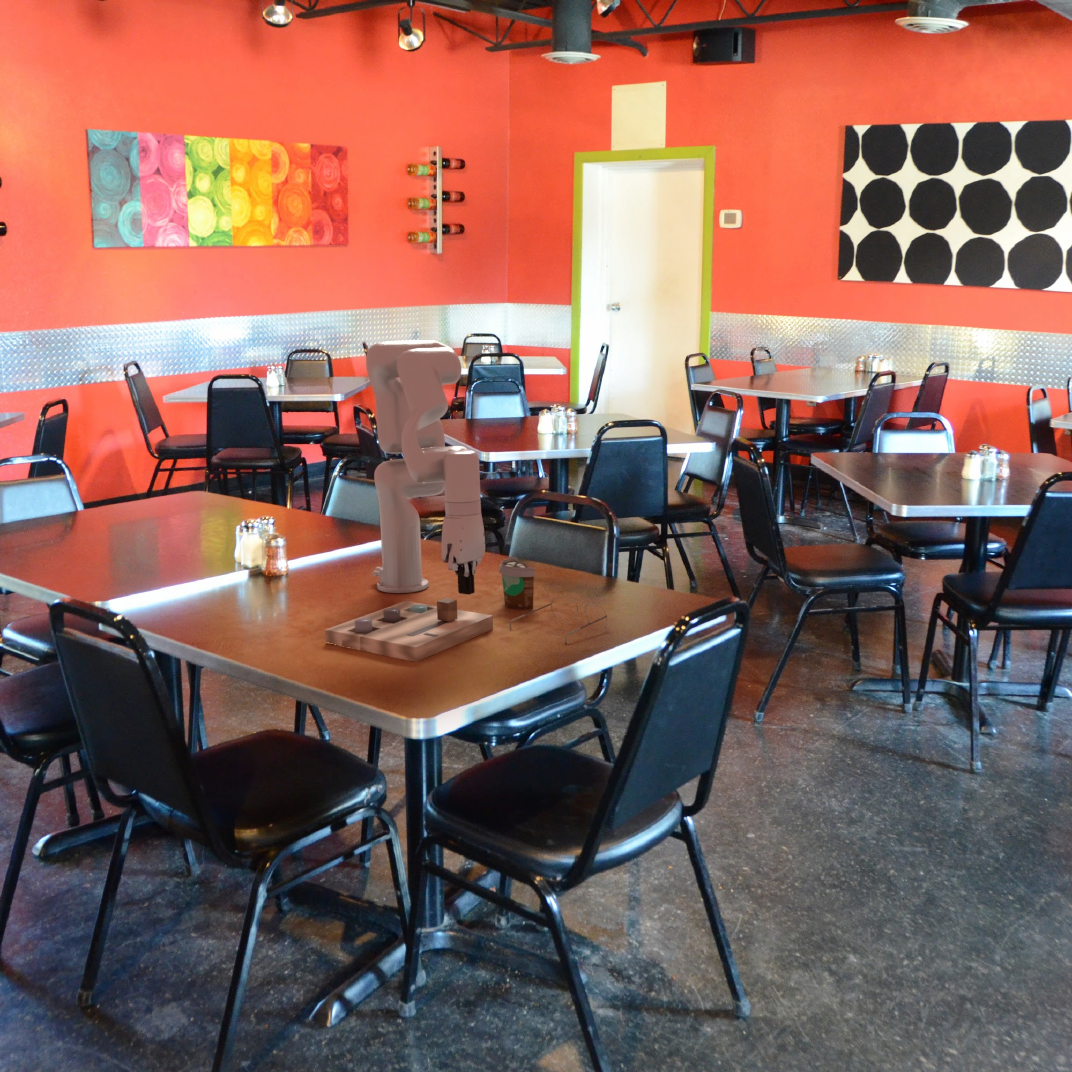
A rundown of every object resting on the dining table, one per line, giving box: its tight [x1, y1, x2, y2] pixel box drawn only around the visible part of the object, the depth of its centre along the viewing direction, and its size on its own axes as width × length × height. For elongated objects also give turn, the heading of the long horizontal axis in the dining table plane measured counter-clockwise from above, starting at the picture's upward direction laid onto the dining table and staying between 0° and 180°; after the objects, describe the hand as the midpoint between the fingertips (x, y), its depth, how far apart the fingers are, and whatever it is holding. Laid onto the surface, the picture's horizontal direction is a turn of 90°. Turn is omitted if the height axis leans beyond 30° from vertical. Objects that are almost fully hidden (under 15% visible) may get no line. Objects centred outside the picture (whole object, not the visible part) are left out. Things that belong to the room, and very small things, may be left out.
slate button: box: [355, 617, 373, 634], centre depth 240 cm, size 4×4×3 cm
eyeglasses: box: [508, 596, 608, 644], centre depth 249 cm, size 16×15×5 cm
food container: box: [498, 556, 536, 611], centre depth 267 cm, size 12×6×10 cm, turn 21°
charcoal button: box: [383, 607, 401, 624], centre depth 247 cm, size 4×4×3 cm
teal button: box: [411, 605, 427, 614], centre depth 255 cm, size 4×4×3 cm
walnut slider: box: [436, 597, 458, 622], centre depth 245 cm, size 3×3×4 cm
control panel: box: [325, 600, 494, 663], centre depth 245 cm, size 24×26×3 cm
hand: (466, 593), depth 249 cm, fingers closed
